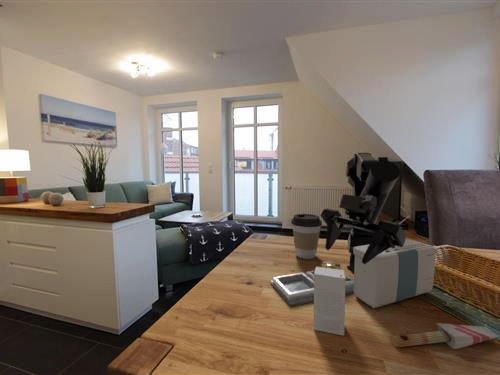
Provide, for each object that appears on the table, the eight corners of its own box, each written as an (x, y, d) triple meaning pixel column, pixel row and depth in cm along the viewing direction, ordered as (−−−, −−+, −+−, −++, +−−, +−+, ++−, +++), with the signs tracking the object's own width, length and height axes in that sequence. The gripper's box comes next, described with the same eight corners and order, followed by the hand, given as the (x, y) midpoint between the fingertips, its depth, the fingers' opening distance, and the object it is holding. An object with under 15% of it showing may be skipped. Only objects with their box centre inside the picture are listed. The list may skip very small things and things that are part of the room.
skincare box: (343, 323, 51) (345, 269, 50) (344, 337, 47) (346, 278, 46) (314, 317, 53) (315, 265, 52) (312, 330, 49) (313, 274, 48)
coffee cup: (298, 248, 98) (298, 212, 96) (325, 254, 91) (326, 215, 90) (284, 257, 88) (285, 217, 87) (314, 264, 82) (315, 221, 80)
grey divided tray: (331, 272, 76) (332, 254, 75) (360, 291, 64) (361, 270, 64) (270, 283, 69) (270, 263, 68) (290, 306, 57) (291, 283, 57)
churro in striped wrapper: (503, 331, 44) (400, 342, 43) (502, 345, 45) (400, 356, 43) (481, 318, 48) (386, 327, 47) (481, 330, 49) (386, 340, 47)
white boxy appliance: (375, 313, 55) (379, 228, 53) (348, 295, 62) (351, 220, 60) (434, 295, 62) (439, 220, 60) (404, 281, 70) (408, 213, 68)
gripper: (325, 178, 63) (296, 227, 58) (404, 185, 48) (373, 252, 43) (341, 203, 69) (316, 249, 64) (416, 216, 54) (390, 278, 49)
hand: (343, 255), depth 55 cm, fingers open, 9 cm apart
